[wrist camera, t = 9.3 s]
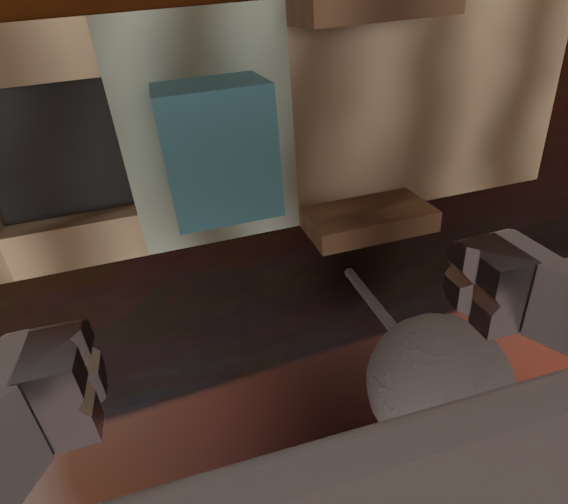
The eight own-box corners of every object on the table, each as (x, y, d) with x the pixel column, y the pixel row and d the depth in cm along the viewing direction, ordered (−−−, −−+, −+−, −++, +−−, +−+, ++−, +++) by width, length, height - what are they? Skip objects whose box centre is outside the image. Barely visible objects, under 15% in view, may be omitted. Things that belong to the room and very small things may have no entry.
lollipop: (328, 328, 34) (438, 516, 21) (284, 265, 30) (386, 448, 18) (406, 277, 34) (564, 437, 21) (371, 207, 30) (539, 351, 17)
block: (251, 70, 22) (274, 83, 18) (263, 184, 25) (285, 215, 21) (148, 82, 21) (150, 98, 17) (174, 199, 24) (180, 235, 20)
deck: (553, -26, 26) (653, -35, 21) (516, 170, 32) (586, 200, 27) (-131, 34, 19) (-230, 43, 14) (-16, 270, 25) (-56, 337, 20)
